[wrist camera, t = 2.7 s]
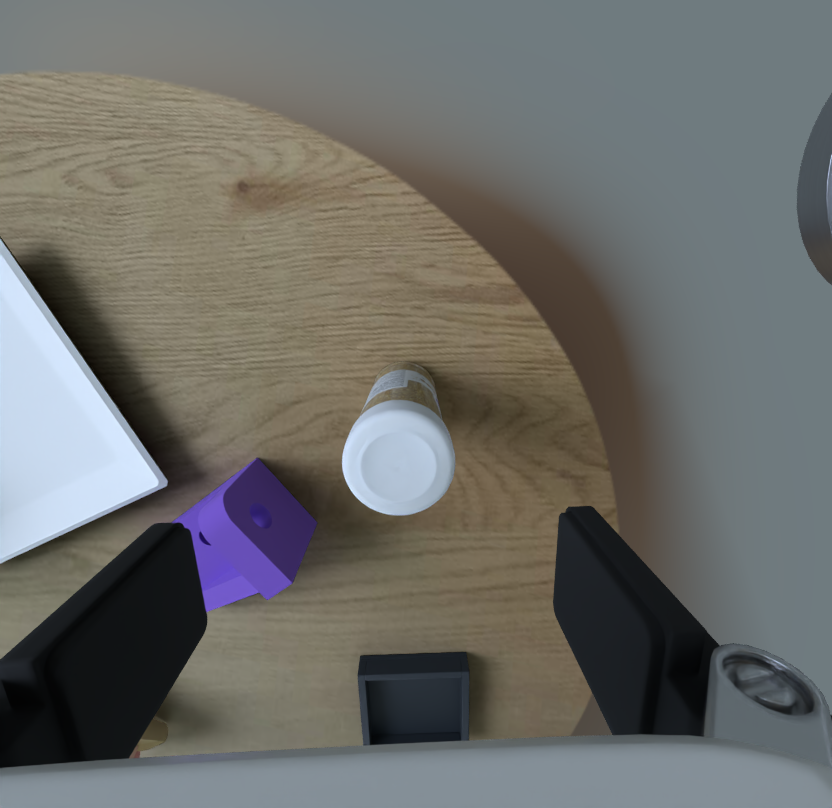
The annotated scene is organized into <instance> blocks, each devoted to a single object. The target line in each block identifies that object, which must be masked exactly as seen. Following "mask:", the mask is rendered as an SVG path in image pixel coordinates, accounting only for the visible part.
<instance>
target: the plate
mask: <svg viewBox="0 0 832 808" xmlns="http://www.w3.org/2000/svg"><path fill="white" fill-rule="evenodd" d="M167 483H168V480H167V477H166V476H165V474H164V473H163V471H162V470H161V468H160V467H159V465H158V464H157V463H156V461H155V460H154V458H153V457H152V455H151V454H150V452H149V451H148V449H147V448H146V447H145V445H144V444H143V442H142V441H141V439H140V438H139V436H138V435H137V434H136V432H135V431H134V429H133V428H132V426H131V425H130V423H129V422H128V420H127V419H126V418H125V416H124V415H123V413H122V412H121V410H120V409H119V407H118V406H117V405H116V403H115V402H114V400H113V399H112V397H111V396H110V394H109V393H108V391H107V390H106V389H105V387H104V386H103V384H102V383H101V381H100V380H99V378H98V377H97V376H96V374H95V373H94V371H93V370H92V368H91V367H90V365H89V364H88V363H87V361H86V360H85V358H84V357H83V355H82V354H81V352H80V351H79V349H78V348H77V347H76V345H75V344H74V342H73V341H72V339H71V338H70V336H69V335H68V334H67V332H66V331H65V329H64V328H63V326H62V325H61V323H60V322H59V320H58V319H57V318H56V316H55V315H54V313H53V312H52V310H51V309H50V307H49V306H48V305H47V303H46V302H45V300H44V299H43V297H42V296H41V294H40V293H39V292H38V290H37V289H36V287H35V286H34V284H33V283H32V281H31V280H30V278H29V277H28V276H27V274H26V273H25V271H24V270H23V268H22V267H21V265H20V264H19V263H18V261H17V260H16V258H15V257H14V255H13V254H12V252H11V251H10V249H9V248H8V247H7V245H6V244H5V242H4V241H3V239H2V238H1V237H0V563H2V562H4V561H7V560H9V559H11V558H13V557H15V556H17V555H19V554H22V553H24V552H26V551H28V550H30V549H32V548H35V547H37V546H39V545H41V544H43V543H45V542H47V541H50V540H52V539H54V538H56V537H58V536H60V535H63V534H65V533H67V532H69V531H71V530H73V529H75V528H78V527H80V526H82V525H84V524H86V523H88V522H91V521H93V520H95V519H97V518H99V517H101V516H103V515H106V514H108V513H110V512H112V511H114V510H116V509H119V508H121V507H123V506H125V505H127V504H129V503H131V502H134V501H136V500H138V499H140V498H142V497H144V496H147V495H149V494H151V493H153V492H155V491H157V490H159V489H162V488H164V487H166V486H167Z"/></svg>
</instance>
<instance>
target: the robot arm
mask: <svg viewBox="0 0 832 808" xmlns="http://www.w3.org/2000/svg"><path fill="white" fill-rule="evenodd" d="M553 606H554V612H555V615H556V618H557V620H558V622H559V624H560V626H561V629H562V631H563V633H564V635H565V637H566V639H567V641H568V643H569V645H570V647H571V649H572V651H573V653H574V656H575V658H576V660H577V662H578V664H579V666H580V668H581V670H582V672H583V674H584V676H585V678H586V680H587V683H588V685H589V687H590V689H591V691H592V693H593V695H594V697H595V699H596V701H597V703H598V705H599V707H600V710H601V711H602V714H603V716H604V718H605V720H606V722H607V724H608V726H609V728H610V730H611V732H612V735H602V736H601V735H600V736H561V737H535V738H513V739H491V740H469V741H447V742H425V743H404V744H384V745H364V746H345V747H325V748H306V749H287V750H269V751H250V752H232V753H215V754H198V755H181V756H164V757H147V758H130V759H129V757H130V756H131V754H132V752H133V751H134V749H135V747H136V746H137V744H138V742H139V741H140V739H141V737H142V736H143V734H144V732H145V731H146V729H147V727H148V726H149V724H150V722H151V721H152V719H153V717H154V716H155V714H156V713H157V711H158V709H159V708H160V706H161V704H162V703H163V701H164V699H165V698H166V696H167V694H168V693H169V691H170V689H171V688H172V686H173V684H174V683H175V681H176V679H177V678H178V676H179V674H180V673H181V671H182V669H183V668H184V666H185V664H186V663H187V661H188V659H189V658H190V656H191V654H192V653H193V651H194V650H195V648H196V646H197V645H198V643H199V641H200V640H201V638H202V636H203V634H204V632H205V630H206V626H207V613H206V608H205V603H204V598H203V592H202V587H201V582H200V577H199V571H198V566H197V561H196V556H195V551H194V545H193V540H192V535H191V532H190V530H189V529H188V528H184V526H183V524H182V523H157V524H154V525H152V526H151V527H149V528H148V529H147V530H146V531H145V532H144V533H143V534H142V535H140V536H139V537H138V538H137V539H136V540H135V541H134V542H133V543H131V544H130V545H129V546H128V547H127V548H126V549H125V550H124V551H122V552H121V553H120V554H119V555H118V556H117V557H116V558H114V559H113V560H112V561H111V562H110V563H109V564H108V565H107V566H105V567H104V568H103V569H102V570H101V571H100V572H99V573H98V574H96V575H95V576H94V577H93V578H92V579H91V580H90V581H89V582H87V583H86V584H85V585H84V586H83V587H82V588H81V589H79V590H78V591H77V592H76V593H75V594H74V595H73V596H72V597H70V598H69V599H68V600H67V601H66V602H65V603H64V604H63V605H61V606H60V607H59V608H58V609H57V610H56V611H55V612H54V613H52V614H51V615H50V616H49V617H48V618H47V619H46V620H44V621H43V622H42V623H41V624H40V625H39V626H38V627H37V628H35V629H34V630H33V631H32V632H31V633H30V634H29V635H28V636H26V637H25V638H24V639H23V640H22V641H21V642H20V643H19V644H17V645H16V646H15V647H14V648H13V649H12V650H11V651H10V652H8V653H7V654H6V655H5V656H4V657H3V658H2V659H0V808H832V715H830V711H829V706H828V704H827V702H826V700H825V697H824V695H823V694H822V692H821V691H820V690H819V689H818V687H817V686H816V685H815V684H814V683H813V681H812V680H810V679H809V678H808V677H807V676H806V675H804V674H803V673H802V672H801V671H800V670H798V669H797V668H796V667H794V666H793V665H791V664H789V663H788V662H786V661H785V660H783V659H782V658H779V657H777V656H775V655H773V654H771V653H769V652H767V651H765V650H761V649H758V648H755V647H752V646H749V645H741V644H734V643H733V644H725V645H721V646H719V645H718V643H717V642H716V641H715V640H714V639H713V638H712V637H711V636H710V635H709V634H708V633H707V631H706V630H705V628H704V627H702V625H701V624H700V623H699V622H698V621H697V620H696V619H695V618H694V617H693V615H692V614H691V613H690V612H689V611H688V610H687V609H686V608H685V607H684V606H683V605H682V604H681V603H680V601H679V600H678V599H677V598H676V597H675V596H674V595H673V594H672V593H671V592H670V590H669V589H668V588H667V587H666V586H665V585H664V584H663V583H662V582H661V581H660V580H659V578H658V577H657V576H656V575H655V574H654V573H653V572H652V571H651V570H650V569H649V568H648V567H647V565H646V564H645V563H644V562H643V561H642V560H641V559H640V558H639V557H638V556H637V554H636V553H635V552H634V551H633V550H632V549H631V548H630V547H629V546H628V545H627V544H626V543H625V541H624V540H623V539H622V538H621V537H620V536H619V535H618V534H617V533H616V532H615V531H614V529H613V528H612V527H611V526H610V525H609V524H608V523H607V522H606V521H605V520H604V519H603V517H602V516H601V515H600V514H599V513H598V512H597V511H596V510H595V509H594V508H593V507H592V506H579V507H568V508H567V509H566V513H561V514H560V516H559V526H558V540H557V554H556V569H555V583H554V598H553Z"/></svg>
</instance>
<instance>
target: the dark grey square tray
mask: <svg viewBox="0 0 832 808" xmlns="http://www.w3.org/2000/svg"><path fill="white" fill-rule="evenodd" d="M358 686H359V698H360V710H361V722H362V734H363V746H364V745H384V744H404V743H425V742H447V741H469V667H468V660H467V654H466V652H454V653H425V654H397V655H369V656H360V662H359V669H358Z"/></svg>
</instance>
